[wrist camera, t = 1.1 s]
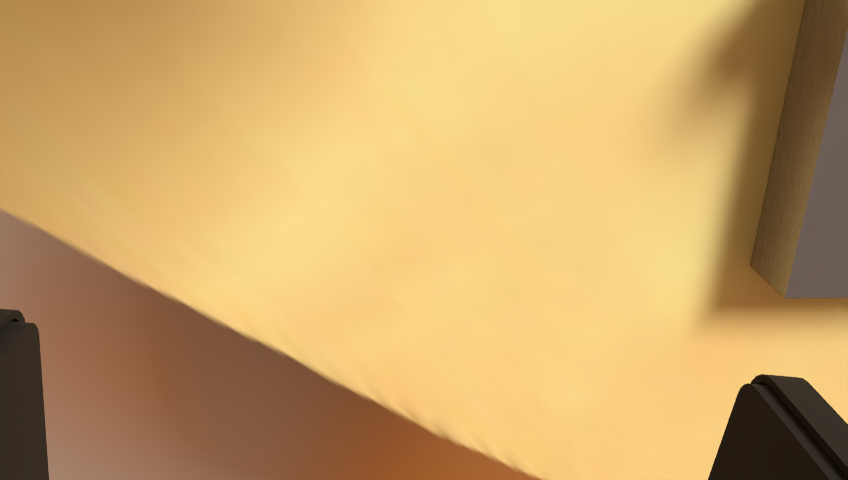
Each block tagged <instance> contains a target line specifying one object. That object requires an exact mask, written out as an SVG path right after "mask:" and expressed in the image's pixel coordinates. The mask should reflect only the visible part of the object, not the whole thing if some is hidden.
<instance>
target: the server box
mask: <svg viewBox="0 0 848 480" xmlns="http://www.w3.org/2000/svg"><path fill="white" fill-rule="evenodd" d="M751 267H753V268H754V269H755V270H756V271H757V272H758V273H759V274H760V275H761V276H762V277H763V278H764V279H765V280H766V281H767V282H768V283H769V284H770V285H771V286H773V287H774V288H775V289H776V290H777V291H778V292H779V293H780V294H781V295H782V296H783V297H784V298H838V297H848V0H806V3H805V8H804V13H803V18H802V22H801V27H800V32H799V37H798V42H797V46H796V51H795V56H794V61H793V66H792V70H791V75H790V80H789V85H788V89H787V94H786V99H785V104H784V109H783V113H782V118H781V123H780V128H779V133H778V137H777V142H776V147H775V152H774V157H773V161H772V166H771V171H770V176H769V181H768V185H767V190H766V195H765V200H764V204H763V209H762V214H761V219H760V224H759V228H758V233H757V238H756V243H755V248H754V252H753V257H752V262H751Z"/></svg>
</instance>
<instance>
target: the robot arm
mask: <svg viewBox="0 0 848 480" xmlns="http://www.w3.org/2000/svg"><path fill="white" fill-rule="evenodd" d="M0 480H49V473H48V459H47V444H46V430H45V415H44V400H43V386H42V371H41V358H40V342H39V332H38V328H37V326H36V325H35V324H34V323H25V319H24V317H23V315H22V313H21V312H20V311H18V310H8V309H0ZM708 480H848V424H847V423H846V422H845V421H844V420H843V419H842V418H841V417H840V416H839V415H838V414H837V412H836V411H835V410H834V409H833V408H832V407H831V406H830V405H829V404H828V403H827V402H826V401H825V400H824V399H823V398H822V396H821V395H820V394H819V393H818V392H817V391H816V390H815V389H814V388H813V387H812V386H811V385H810V384H809V383H808V382H807V381H806V380H804V379H803V378H798V377H786V376H775V375H763V374H761V375H758V376H756V377H755V378H754V379H753V380H752V382H751V384H745V385H743V386H742V387H741V388H740V390H739V392H738V395H737V398H736V401H735V403H734V406H733V409H732V412H731V415H730V418H729V421H728V424H727V426H726V429H725V432H724V435H723V438H722V441H721V444H720V447H719V449H718V452H717V455H716V458H715V461H714V464H713V467H712V470H711V472H710V475H709V478H708Z"/></svg>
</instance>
